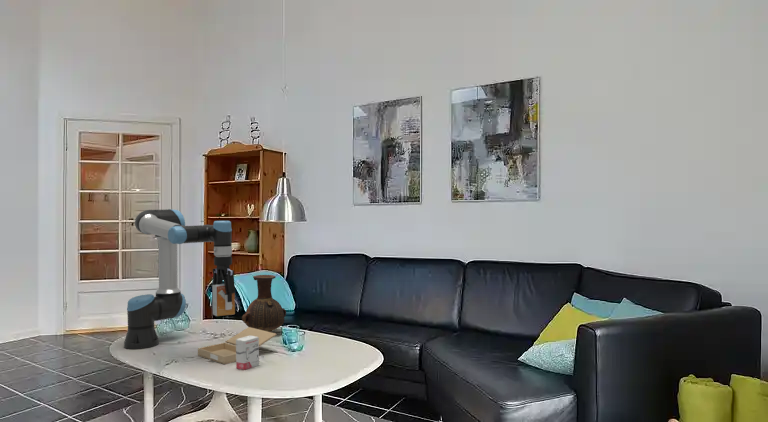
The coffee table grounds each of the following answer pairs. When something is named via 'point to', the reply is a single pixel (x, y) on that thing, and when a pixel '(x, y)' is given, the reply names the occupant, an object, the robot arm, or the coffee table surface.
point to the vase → (264, 307)
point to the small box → (221, 301)
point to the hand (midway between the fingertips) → (223, 308)
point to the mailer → (219, 353)
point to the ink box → (247, 352)
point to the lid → (249, 331)
